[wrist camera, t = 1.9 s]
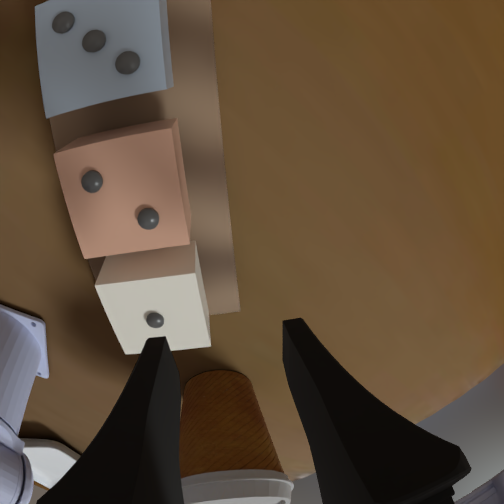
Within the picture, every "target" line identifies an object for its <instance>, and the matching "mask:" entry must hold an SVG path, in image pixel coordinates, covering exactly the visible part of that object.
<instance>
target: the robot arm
mask: <svg viewBox="0 0 504 504" xmlns="http://www.w3.org/2000/svg"><path fill="white" fill-rule="evenodd" d="M283 363H284V368H285V372H286V377H287V381H288V385H289V388H290V391H291V394H292V396H293V399H294V402H295V405H296V408H297V411H298V413H299V416H300V419H301V422H302V424H303V427H304V430H305V433H306V436H307V439H308V442H309V445H310V449H311V453H312V457H313V461H314V466H315V470H316V473H317V479H318V483H319V488H320V492H321V497H322V502H323V504H504V470H503V471H501V472H500V473H499V474H497V475H496V476H494V477H493V478H492V479H491V480H489V481H487V482H486V483H484V484H483V485H481V486H480V487H478V488H477V489H475V490H474V491H472V492H471V493H469V494H468V495H466V496H464V497H463V498H461V499H459V500H458V501H456V502H454V501H453V499H452V496H453V495H454V494H455V492H454V490H453V487H452V485H454V484H455V483H456V482H458V481H459V480H461V479H462V478H464V477H465V476H466V475H467V474H468V473H470V471H471V467H470V465H469V463H468V461H467V459H466V457H465V455H464V453H463V452H462V451H461V449H460V447H459V446H457V445H454V444H452V443H450V442H448V441H445V440H443V439H441V438H439V437H437V436H435V435H433V434H431V433H429V432H427V431H426V430H424V429H422V428H420V427H418V426H416V425H415V424H413V423H412V422H410V421H409V420H407V419H406V418H404V417H402V416H401V415H399V414H398V413H396V412H395V411H393V410H392V409H390V408H389V407H388V406H386V405H385V404H384V403H382V402H381V401H380V400H379V399H377V398H376V397H375V396H374V395H372V394H371V393H370V392H369V391H368V390H366V389H365V388H364V387H363V386H362V385H361V384H360V383H359V382H358V381H356V380H355V379H354V378H353V377H352V376H351V375H350V374H349V373H348V372H347V371H346V370H345V369H344V368H343V367H342V366H341V365H340V364H339V362H338V361H337V360H336V359H335V358H334V357H333V356H332V355H331V354H330V353H329V352H328V350H327V349H326V348H325V347H324V346H323V345H322V343H321V342H320V341H319V340H318V338H317V337H316V336H315V335H314V333H313V332H312V331H311V329H310V328H309V327H308V325H307V324H306V323H305V321H304V320H303V319H302V318H296V319H290V320H284V321H283ZM36 375H37V376H40V377H43V378H48V376H49V368H48V358H47V345H46V328H45V323H44V321H43V320H41V319H39V318H36V317H33V316H30V315H27V314H25V313H22V312H19V311H16V310H14V309H11V308H8V307H6V306H3V305H1V304H0V504H29V502H30V499H31V496H32V492H33V483H34V480H33V472H32V468H31V464H30V461H29V459H28V457H27V456H26V454H25V453H23V448H24V444H25V442H24V441H22V440H21V439H20V438H18V434H19V430H20V426H21V422H22V419H23V415H24V411H25V408H26V404H27V401H28V398H29V395H30V391H31V388H32V385H33V382H34V379H35V376H36ZM180 410H181V393H180V378H179V371H178V369H177V366H176V363H175V361H174V358H173V355H172V353H171V350H170V347H169V344H168V341H167V339H166V336H162V337H152V338H148V339H147V340H146V342H145V344H144V347H143V349H142V351H141V354H140V356H139V358H138V360H137V363H136V365H135V367H134V369H133V371H132V373H131V375H130V377H129V379H128V381H127V383H126V385H125V387H124V389H123V391H122V393H121V395H120V397H119V399H118V400H117V402H116V404H115V406H114V408H113V409H112V411H111V413H110V415H109V416H108V418H107V420H106V421H105V423H104V424H103V426H102V427H101V429H100V430H99V432H98V433H97V435H96V436H95V438H94V439H93V441H92V442H91V443H90V445H89V446H88V447H87V449H86V450H85V451H84V453H83V454H82V455H81V456H80V458H79V459H78V460H77V461H76V462H75V463H74V465H73V466H72V467H71V468H70V469H69V470H68V471H67V472H66V474H65V475H64V476H63V477H62V478H61V479H60V480H59V481H58V482H57V483H56V484H55V485H54V486H53V487H52V488H51V489H50V490H48V491H47V492H46V493H45V494H44V495H43V496H42V497H41V498H40V499H39V500H37V503H36V504H184V499H183V491H182V484H181V474H180V465H179V438H180Z"/></svg>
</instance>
